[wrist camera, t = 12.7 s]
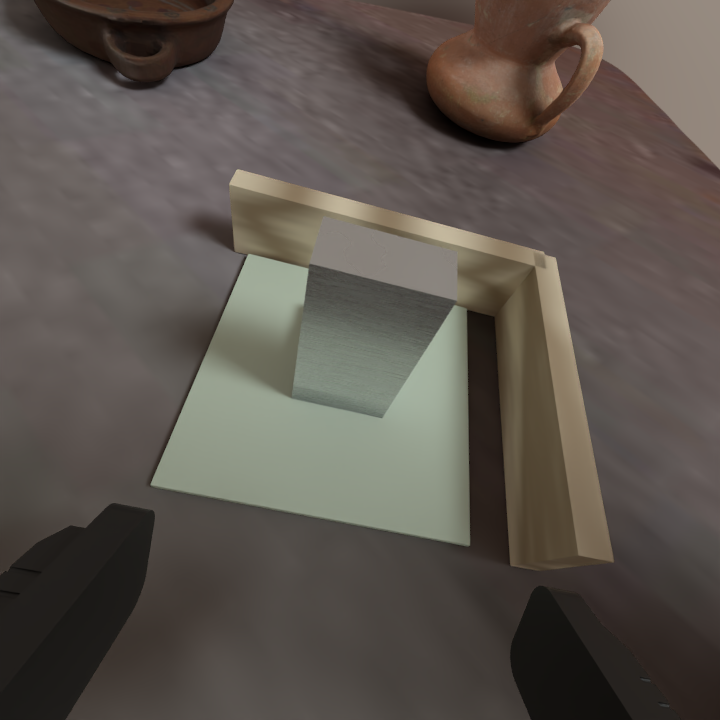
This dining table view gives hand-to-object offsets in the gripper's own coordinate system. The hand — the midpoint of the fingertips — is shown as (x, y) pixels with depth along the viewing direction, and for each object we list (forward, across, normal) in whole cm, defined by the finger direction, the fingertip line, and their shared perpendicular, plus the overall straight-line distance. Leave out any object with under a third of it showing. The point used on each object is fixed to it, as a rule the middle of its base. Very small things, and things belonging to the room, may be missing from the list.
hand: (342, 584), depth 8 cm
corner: (+15, -2, 0) cm, 15 cm away
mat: (+15, 0, 0) cm, 15 cm away
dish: (+38, +25, -23) cm, 51 cm away
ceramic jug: (+40, -10, -25) cm, 48 cm away
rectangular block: (+15, 0, -1) cm, 15 cm away
